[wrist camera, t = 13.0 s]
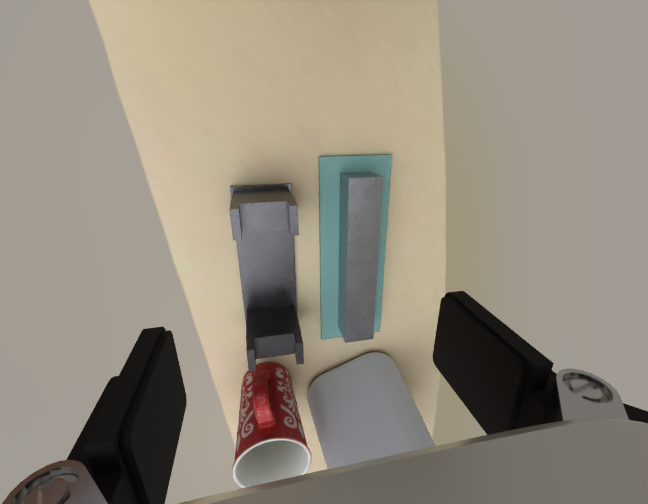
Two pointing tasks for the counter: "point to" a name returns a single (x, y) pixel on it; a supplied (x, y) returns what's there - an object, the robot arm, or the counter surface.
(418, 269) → the counter surface
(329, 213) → the mat
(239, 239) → the brackets
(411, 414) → the plastic bottle
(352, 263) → the rail
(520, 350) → the robot arm
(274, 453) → the mug
